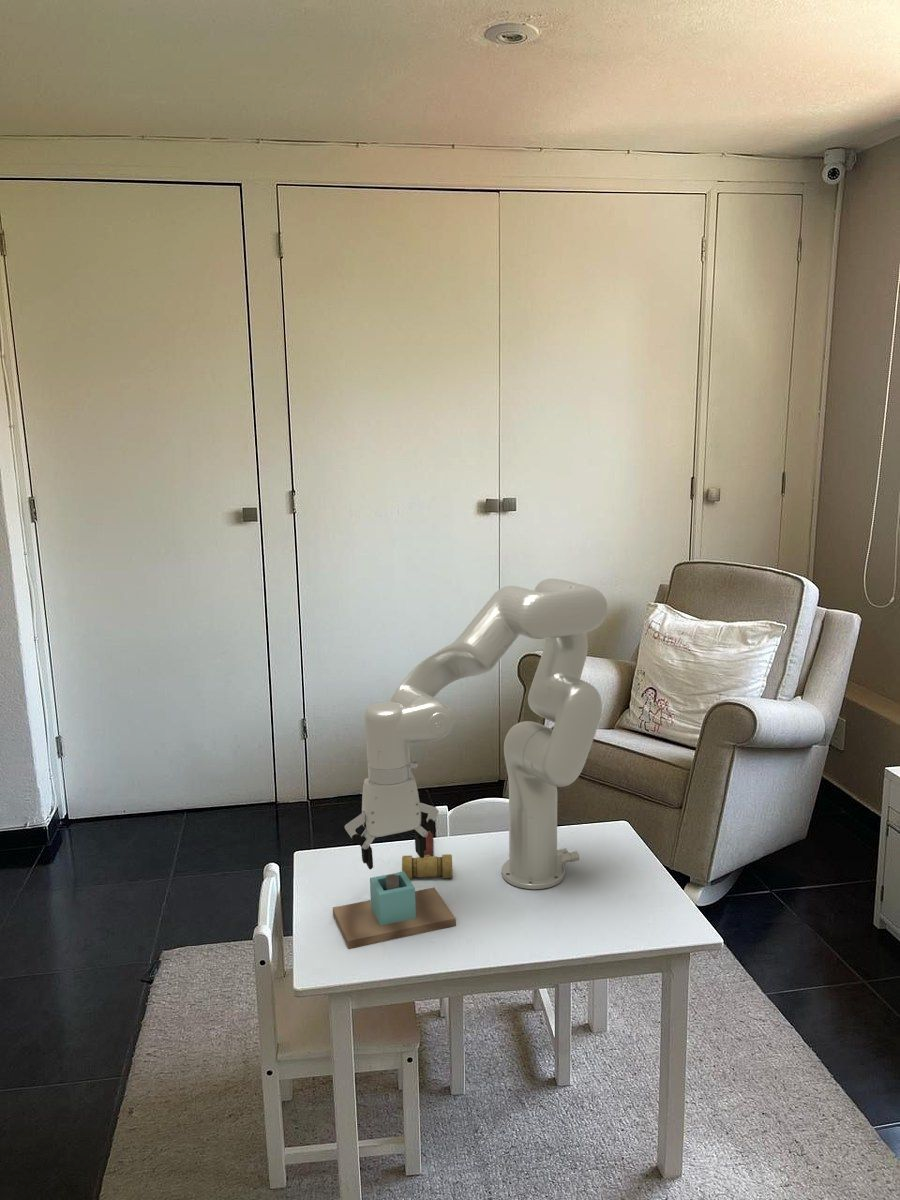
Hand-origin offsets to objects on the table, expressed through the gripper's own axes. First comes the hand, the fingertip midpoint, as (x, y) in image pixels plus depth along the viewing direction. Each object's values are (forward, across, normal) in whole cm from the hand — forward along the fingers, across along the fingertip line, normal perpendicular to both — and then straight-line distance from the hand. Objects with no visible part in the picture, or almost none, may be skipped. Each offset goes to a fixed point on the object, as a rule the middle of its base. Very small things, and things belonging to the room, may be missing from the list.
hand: (394, 860), depth 168 cm
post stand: (+12, +1, 0) cm, 12 cm away
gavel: (+13, -13, -21) cm, 28 cm away
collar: (+10, +1, 0) cm, 10 cm away
